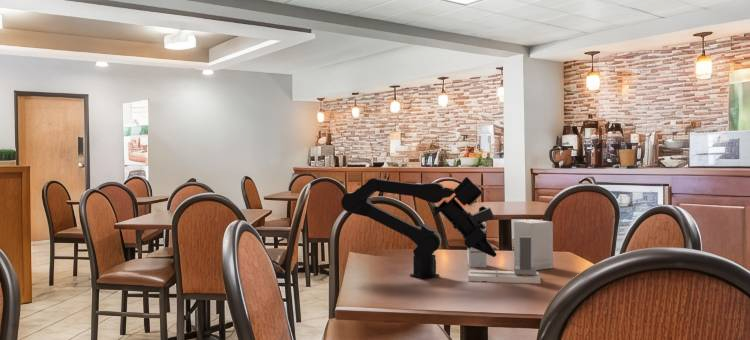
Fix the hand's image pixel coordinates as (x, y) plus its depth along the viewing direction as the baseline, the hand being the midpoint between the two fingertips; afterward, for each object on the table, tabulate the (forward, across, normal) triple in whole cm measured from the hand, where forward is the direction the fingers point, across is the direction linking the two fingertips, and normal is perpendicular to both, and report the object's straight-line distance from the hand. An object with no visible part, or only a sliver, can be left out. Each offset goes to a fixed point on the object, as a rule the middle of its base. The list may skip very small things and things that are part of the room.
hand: (495, 255), depth 172 cm
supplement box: (+13, +20, -4) cm, 25 cm away
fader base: (+6, 0, +4) cm, 7 cm away
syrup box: (+1, +20, +9) cm, 22 cm away
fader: (+9, 0, -3) cm, 9 cm away
